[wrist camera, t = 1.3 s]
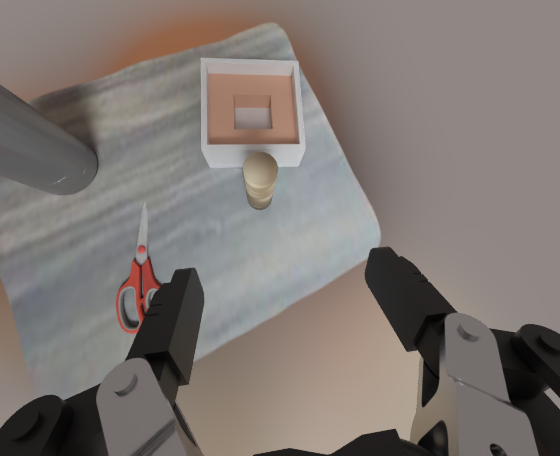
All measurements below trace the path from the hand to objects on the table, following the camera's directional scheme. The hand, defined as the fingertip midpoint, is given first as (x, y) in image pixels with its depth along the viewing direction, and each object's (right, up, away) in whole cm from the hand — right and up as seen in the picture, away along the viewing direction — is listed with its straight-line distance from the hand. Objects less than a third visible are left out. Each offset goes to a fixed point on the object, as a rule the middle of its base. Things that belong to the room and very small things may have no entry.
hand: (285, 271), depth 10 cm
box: (-5, +20, +29) cm, 35 cm away
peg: (-4, +7, +27) cm, 28 cm away
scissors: (-22, -3, +24) cm, 33 cm away
